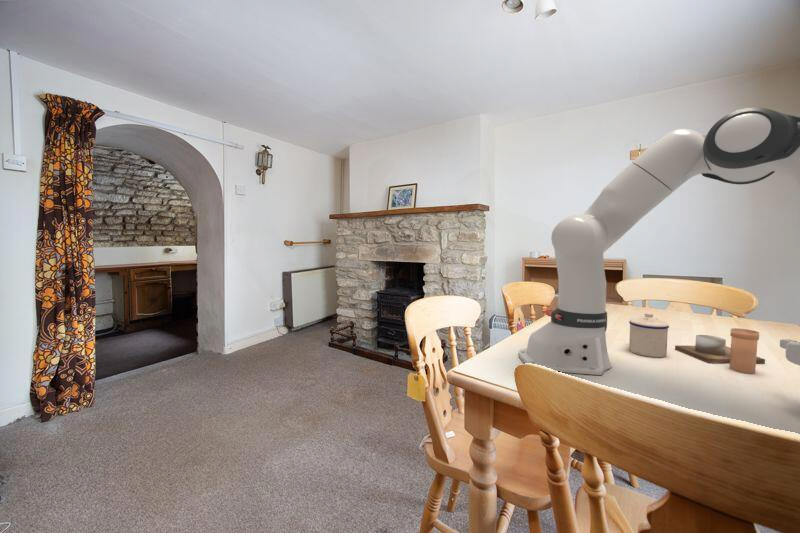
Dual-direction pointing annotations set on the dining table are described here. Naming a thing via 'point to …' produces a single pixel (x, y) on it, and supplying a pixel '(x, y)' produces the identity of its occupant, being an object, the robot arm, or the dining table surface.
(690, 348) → the stud board
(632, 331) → the teacup with lid
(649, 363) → the dining table surface
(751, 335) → the peach lidded canister
